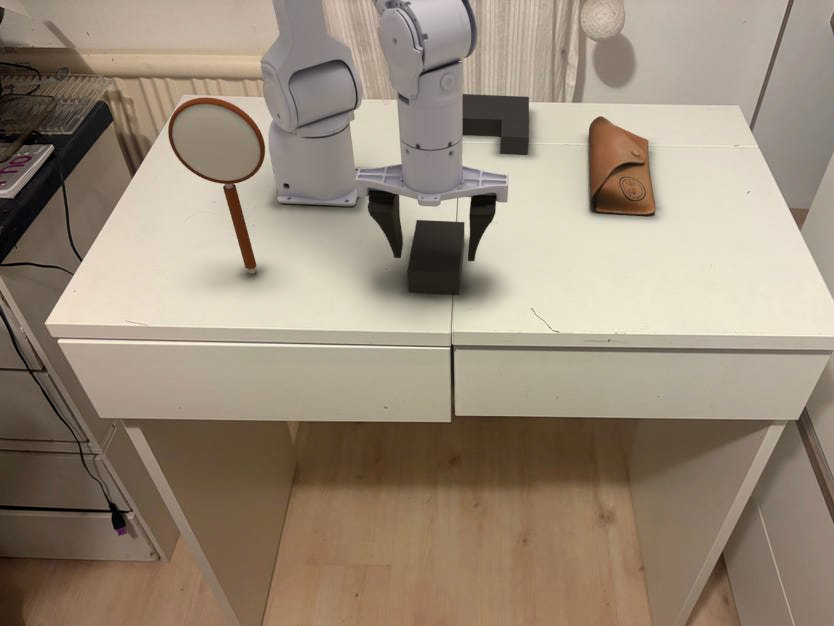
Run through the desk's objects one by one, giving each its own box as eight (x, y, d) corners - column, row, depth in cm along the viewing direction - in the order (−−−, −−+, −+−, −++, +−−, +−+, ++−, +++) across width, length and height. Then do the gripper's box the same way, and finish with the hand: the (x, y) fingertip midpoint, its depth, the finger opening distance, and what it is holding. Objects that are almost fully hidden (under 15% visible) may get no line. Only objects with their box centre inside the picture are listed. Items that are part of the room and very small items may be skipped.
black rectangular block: (408, 292, 76) (407, 270, 74) (417, 241, 82) (416, 219, 80) (459, 295, 76) (459, 273, 74) (464, 243, 82) (464, 221, 80)
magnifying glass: (293, 268, 78) (256, 94, 64) (291, 278, 77) (252, 103, 62) (214, 267, 78) (159, 92, 63) (210, 277, 77) (153, 102, 62)
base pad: (423, 150, 96) (423, 133, 94) (431, 108, 104) (431, 92, 102) (527, 154, 96) (529, 137, 94) (527, 112, 103) (528, 96, 102)
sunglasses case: (660, 213, 86) (641, 169, 82) (606, 234, 89) (584, 193, 85) (648, 138, 98) (631, 96, 94) (601, 158, 101) (582, 119, 97)
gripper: (343, 154, 62) (359, 275, 72) (510, 161, 62) (503, 281, 71) (357, 114, 67) (370, 233, 77) (511, 120, 66) (504, 238, 76)
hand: (435, 253), depth 74 cm, fingers open, 7 cm apart
